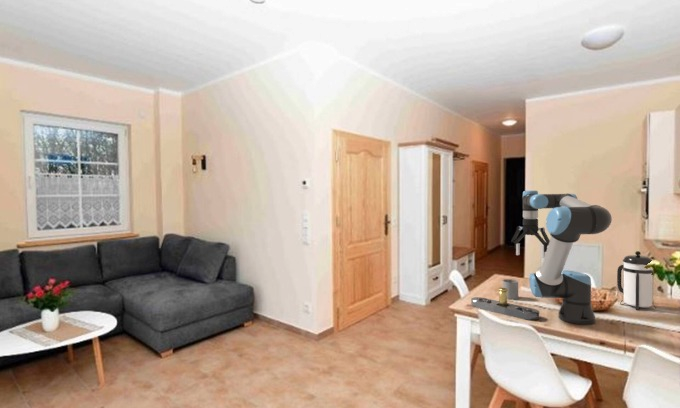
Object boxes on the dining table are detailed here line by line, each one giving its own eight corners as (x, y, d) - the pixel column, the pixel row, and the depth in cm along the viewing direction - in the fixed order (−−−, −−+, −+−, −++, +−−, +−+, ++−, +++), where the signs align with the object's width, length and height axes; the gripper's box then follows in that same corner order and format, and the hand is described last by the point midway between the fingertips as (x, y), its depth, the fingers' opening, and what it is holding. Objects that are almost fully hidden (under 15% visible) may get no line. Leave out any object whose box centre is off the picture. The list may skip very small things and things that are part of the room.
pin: (509, 311, 191) (509, 288, 191) (505, 313, 188) (505, 290, 188) (500, 309, 195) (500, 287, 194) (496, 311, 192) (496, 288, 191)
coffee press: (657, 306, 194) (658, 250, 193) (654, 313, 183) (655, 254, 182) (617, 299, 207) (617, 247, 206) (612, 306, 196) (612, 251, 195)
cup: (500, 297, 215) (500, 281, 215) (505, 294, 221) (505, 278, 221) (515, 300, 209) (515, 283, 209) (520, 297, 215) (520, 280, 215)
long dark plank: (542, 317, 181) (542, 309, 181) (535, 321, 175) (535, 313, 175) (476, 302, 207) (476, 295, 207) (468, 305, 202) (468, 298, 201)
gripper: (557, 218, 194) (557, 258, 195) (510, 217, 213) (510, 252, 214) (552, 219, 189) (552, 260, 190) (504, 217, 208) (505, 254, 209)
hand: (530, 256), depth 202 cm, fingers open, 13 cm apart
